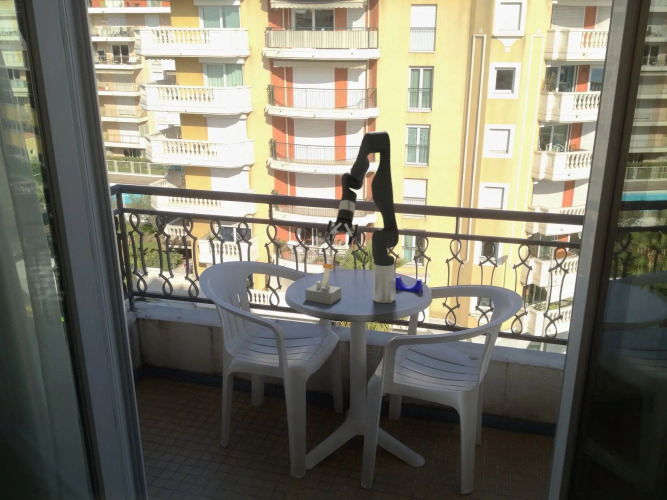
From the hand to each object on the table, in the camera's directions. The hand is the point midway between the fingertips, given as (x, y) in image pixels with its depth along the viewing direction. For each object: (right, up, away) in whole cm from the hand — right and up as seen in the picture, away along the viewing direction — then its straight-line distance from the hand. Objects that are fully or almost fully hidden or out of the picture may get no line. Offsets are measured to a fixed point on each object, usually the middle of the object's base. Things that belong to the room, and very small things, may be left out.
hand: (339, 243), depth 272 cm
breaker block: (-7, -25, -2) cm, 26 cm away
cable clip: (+33, -22, +11) cm, 42 cm away
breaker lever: (-8, -20, -3) cm, 22 cm away
